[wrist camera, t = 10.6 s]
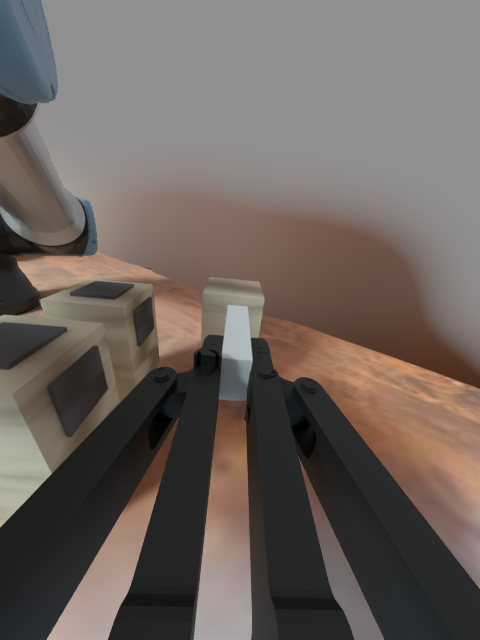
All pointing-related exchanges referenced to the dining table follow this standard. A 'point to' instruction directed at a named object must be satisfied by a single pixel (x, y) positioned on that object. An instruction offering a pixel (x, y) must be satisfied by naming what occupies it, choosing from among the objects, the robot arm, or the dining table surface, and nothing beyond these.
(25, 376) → the marked block 2
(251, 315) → the plain block
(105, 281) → the marked block 1
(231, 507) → the dining table surface
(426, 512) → the dining table surface
